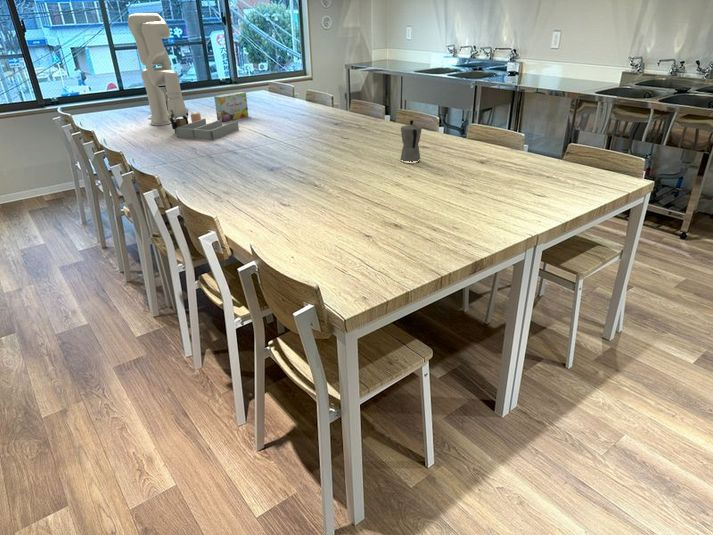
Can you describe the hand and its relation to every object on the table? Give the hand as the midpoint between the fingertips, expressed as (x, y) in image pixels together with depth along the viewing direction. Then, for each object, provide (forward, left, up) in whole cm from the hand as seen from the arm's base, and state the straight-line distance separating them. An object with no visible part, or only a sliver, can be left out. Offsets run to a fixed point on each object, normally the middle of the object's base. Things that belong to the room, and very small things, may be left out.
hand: (180, 127), depth 277 cm
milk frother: (-51, +52, -3) cm, 73 cm away
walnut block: (0, 0, -3) cm, 3 cm away
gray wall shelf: (+17, +2, -3) cm, 17 cm away
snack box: (+9, +40, -3) cm, 41 cm away
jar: (0, +15, -3) cm, 16 cm away
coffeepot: (+140, -20, -3) cm, 141 cm away
